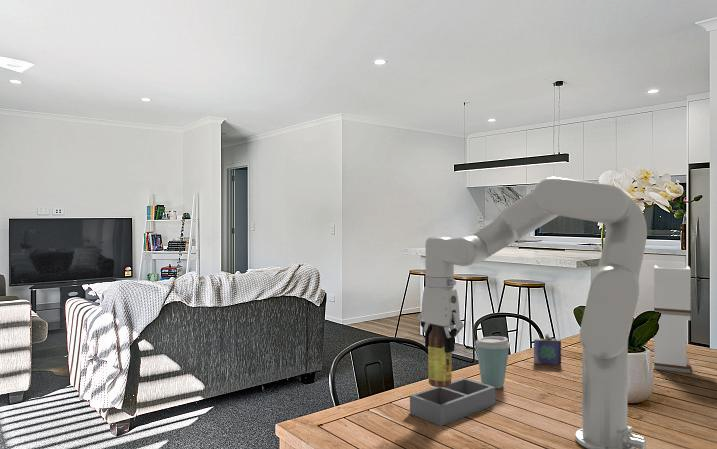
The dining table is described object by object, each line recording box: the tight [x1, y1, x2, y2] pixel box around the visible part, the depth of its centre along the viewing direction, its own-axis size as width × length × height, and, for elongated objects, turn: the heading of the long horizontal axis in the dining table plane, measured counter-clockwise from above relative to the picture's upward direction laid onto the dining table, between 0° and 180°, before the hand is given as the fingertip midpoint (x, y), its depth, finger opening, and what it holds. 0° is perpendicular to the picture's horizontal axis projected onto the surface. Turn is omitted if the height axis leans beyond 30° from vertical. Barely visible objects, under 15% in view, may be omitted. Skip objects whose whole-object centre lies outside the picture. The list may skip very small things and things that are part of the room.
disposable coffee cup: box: [475, 335, 511, 389], centre depth 163 cm, size 11×11×15 cm
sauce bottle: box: [427, 325, 453, 388], centre depth 140 cm, size 7×6×20 cm
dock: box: [409, 377, 496, 427], centre depth 143 cm, size 11×23×5 cm, turn 130°
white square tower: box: [653, 264, 692, 374], centre depth 182 cm, size 11×11×35 cm
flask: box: [533, 333, 562, 367], centre depth 186 cm, size 9×3×11 cm, turn 76°
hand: (439, 348), depth 140 cm, fingers closed on sauce bottle, 6 cm apart
